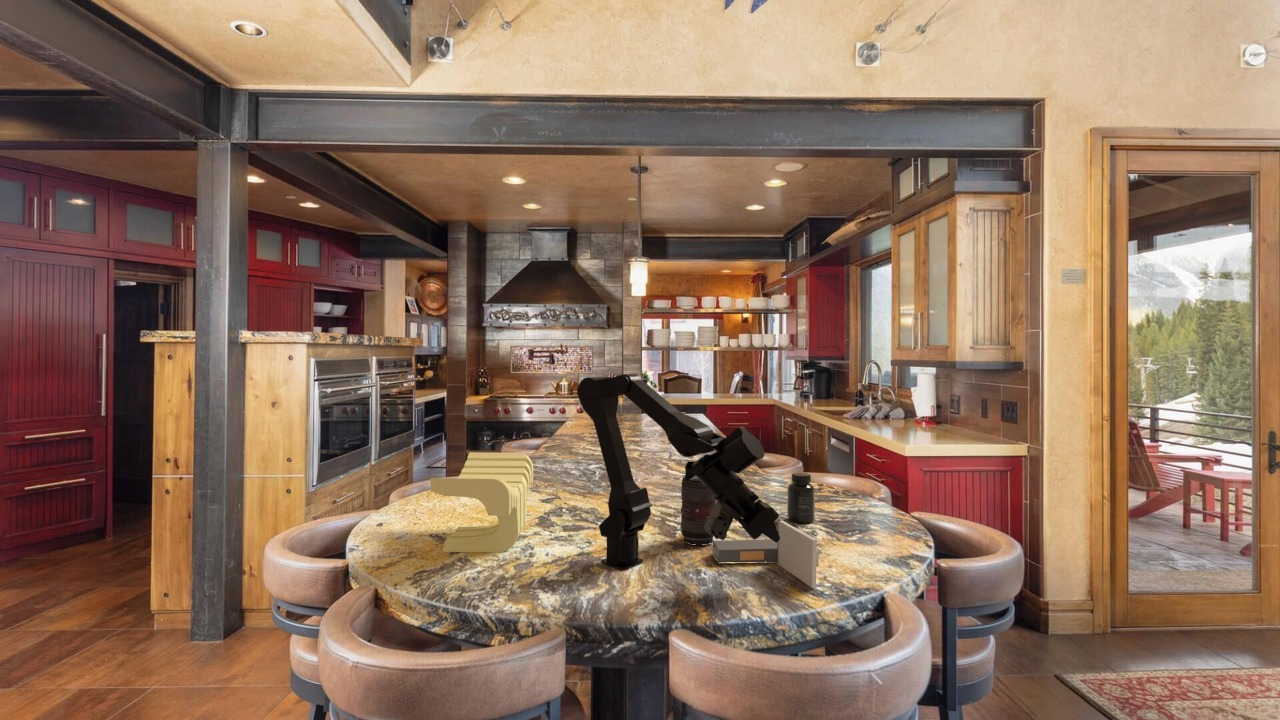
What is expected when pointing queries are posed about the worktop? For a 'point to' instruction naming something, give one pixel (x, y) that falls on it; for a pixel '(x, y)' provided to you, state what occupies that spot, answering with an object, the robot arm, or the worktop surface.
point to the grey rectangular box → (745, 550)
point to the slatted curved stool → (490, 499)
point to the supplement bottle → (801, 499)
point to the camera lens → (696, 511)
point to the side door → (797, 553)
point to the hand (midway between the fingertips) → (777, 540)
